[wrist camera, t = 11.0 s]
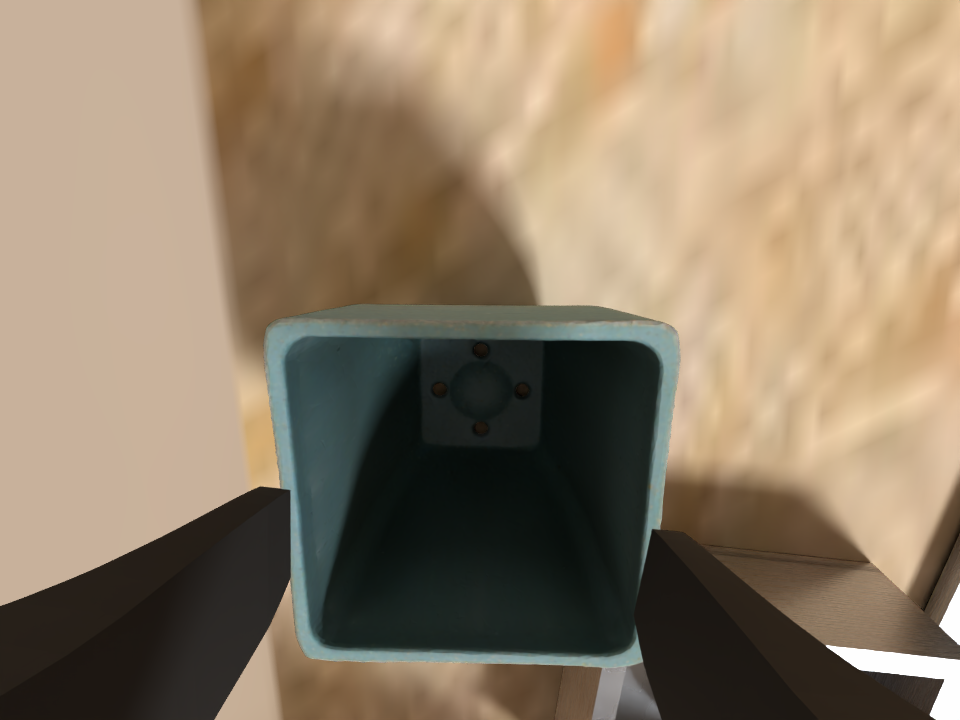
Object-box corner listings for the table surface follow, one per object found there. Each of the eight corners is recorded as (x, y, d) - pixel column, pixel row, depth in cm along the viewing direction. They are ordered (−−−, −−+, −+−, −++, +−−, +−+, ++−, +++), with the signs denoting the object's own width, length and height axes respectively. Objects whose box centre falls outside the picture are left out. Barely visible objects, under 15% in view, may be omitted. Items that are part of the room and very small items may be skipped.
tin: (797, 774, 25) (868, 908, 20) (549, 746, 25) (560, 872, 20) (872, 563, 22) (978, 662, 17) (587, 532, 22) (611, 622, 17)
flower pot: (603, 273, 19) (688, 321, 10) (589, 488, 21) (649, 674, 13) (366, 272, 19) (255, 318, 11) (378, 484, 22) (296, 662, 13)
